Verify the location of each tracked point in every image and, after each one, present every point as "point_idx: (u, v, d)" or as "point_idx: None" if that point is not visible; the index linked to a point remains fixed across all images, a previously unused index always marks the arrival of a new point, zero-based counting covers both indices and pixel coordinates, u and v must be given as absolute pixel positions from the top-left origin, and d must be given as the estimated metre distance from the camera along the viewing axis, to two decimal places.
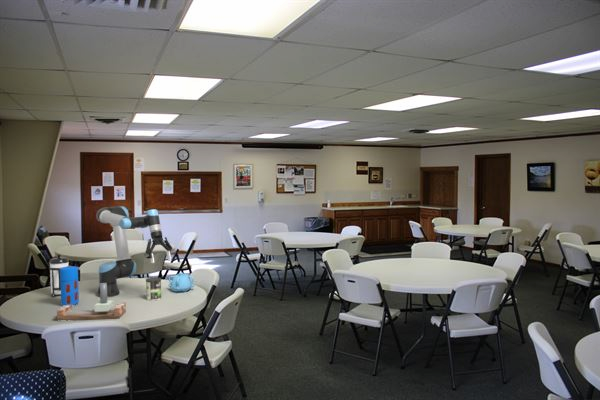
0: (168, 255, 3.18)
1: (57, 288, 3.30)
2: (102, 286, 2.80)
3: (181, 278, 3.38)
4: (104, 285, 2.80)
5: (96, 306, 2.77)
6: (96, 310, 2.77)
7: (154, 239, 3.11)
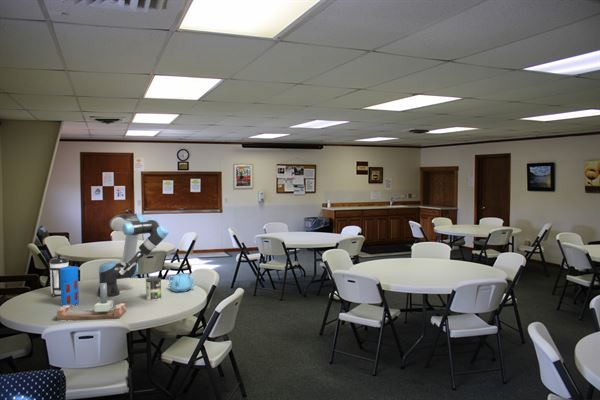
0: (130, 265, 2.92)
1: (57, 288, 3.30)
2: (102, 286, 2.80)
3: (181, 278, 3.38)
4: (104, 285, 2.80)
5: (96, 306, 2.77)
6: (96, 310, 2.77)
7: (141, 255, 2.83)
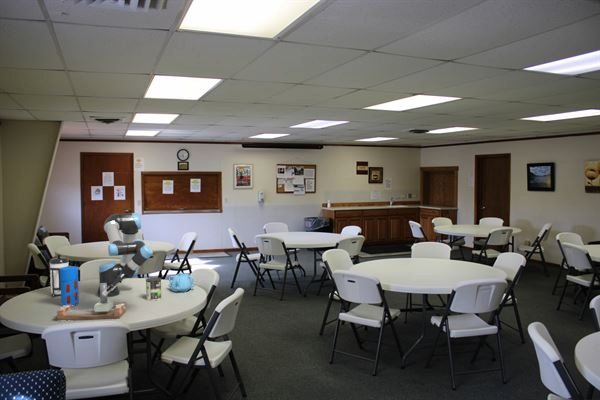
0: (114, 285, 2.88)
1: (57, 288, 3.30)
2: (102, 286, 2.80)
3: (181, 278, 3.38)
4: (104, 285, 2.80)
5: (96, 306, 2.77)
6: (96, 310, 2.77)
7: (125, 275, 2.79)
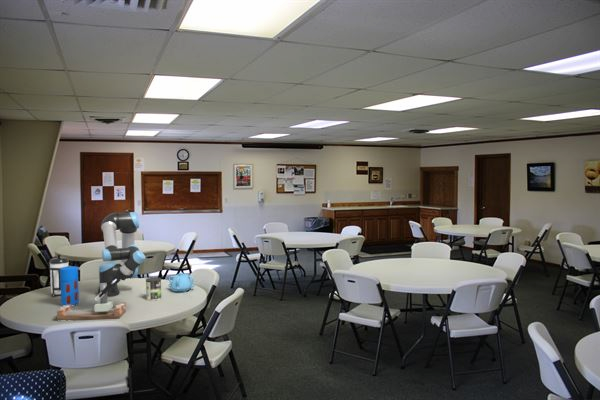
0: None
1: (57, 288, 3.30)
2: (102, 286, 2.80)
3: (181, 278, 3.38)
4: (104, 285, 2.80)
5: (96, 306, 2.77)
6: (96, 310, 2.77)
7: (117, 280, 2.79)
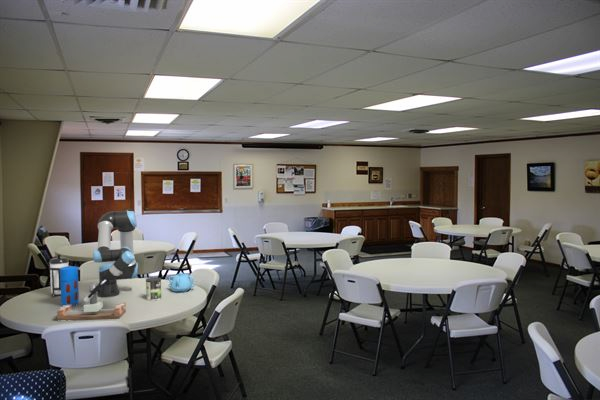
0: None
1: (57, 288, 3.30)
2: (91, 286, 2.79)
3: (181, 278, 3.38)
4: (93, 285, 2.80)
5: (85, 306, 2.77)
6: (85, 310, 2.77)
7: (106, 281, 2.79)
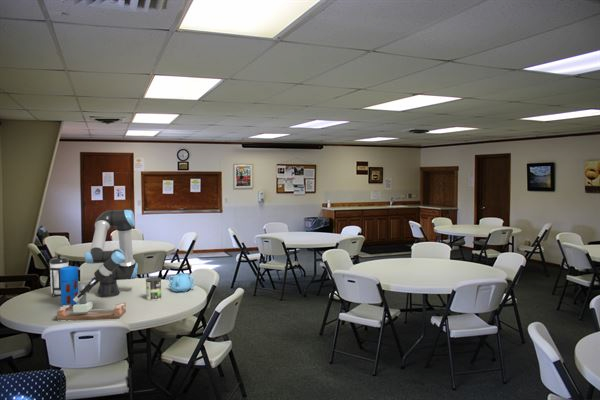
0: None
1: (57, 288, 3.30)
2: (81, 287, 2.79)
3: (181, 278, 3.38)
4: (83, 286, 2.79)
5: (75, 307, 2.76)
6: (75, 311, 2.76)
7: (96, 281, 2.78)
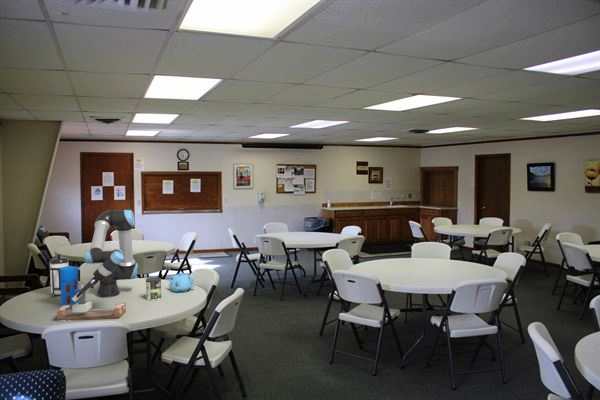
0: (86, 290, 2.87)
1: (57, 288, 3.30)
2: (80, 287, 2.79)
3: (181, 278, 3.38)
4: (82, 286, 2.79)
5: (74, 307, 2.76)
6: (74, 311, 2.76)
7: (95, 281, 2.78)
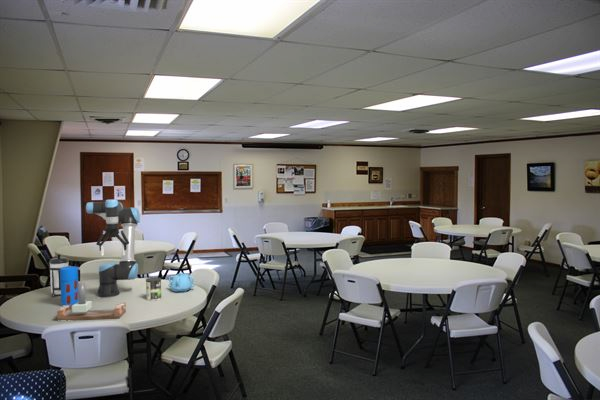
0: None
1: (57, 288, 3.30)
2: (80, 287, 2.79)
3: (181, 278, 3.38)
4: (82, 286, 2.79)
5: (74, 307, 2.76)
6: (74, 311, 2.76)
7: (107, 231, 2.97)
